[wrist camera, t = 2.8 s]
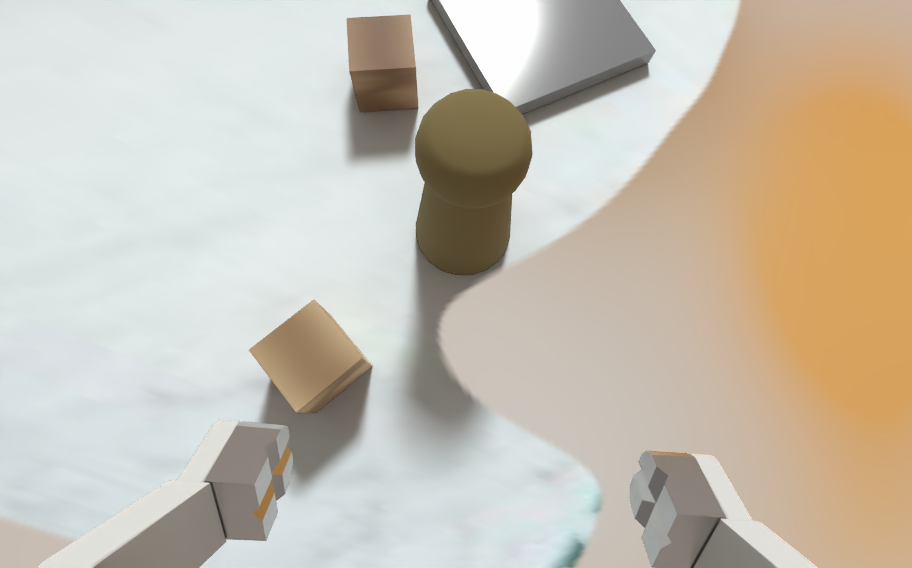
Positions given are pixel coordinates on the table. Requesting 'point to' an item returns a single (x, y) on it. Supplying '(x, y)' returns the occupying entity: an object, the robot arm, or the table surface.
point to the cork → (469, 178)
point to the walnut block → (382, 62)
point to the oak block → (310, 359)
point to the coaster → (544, 45)
